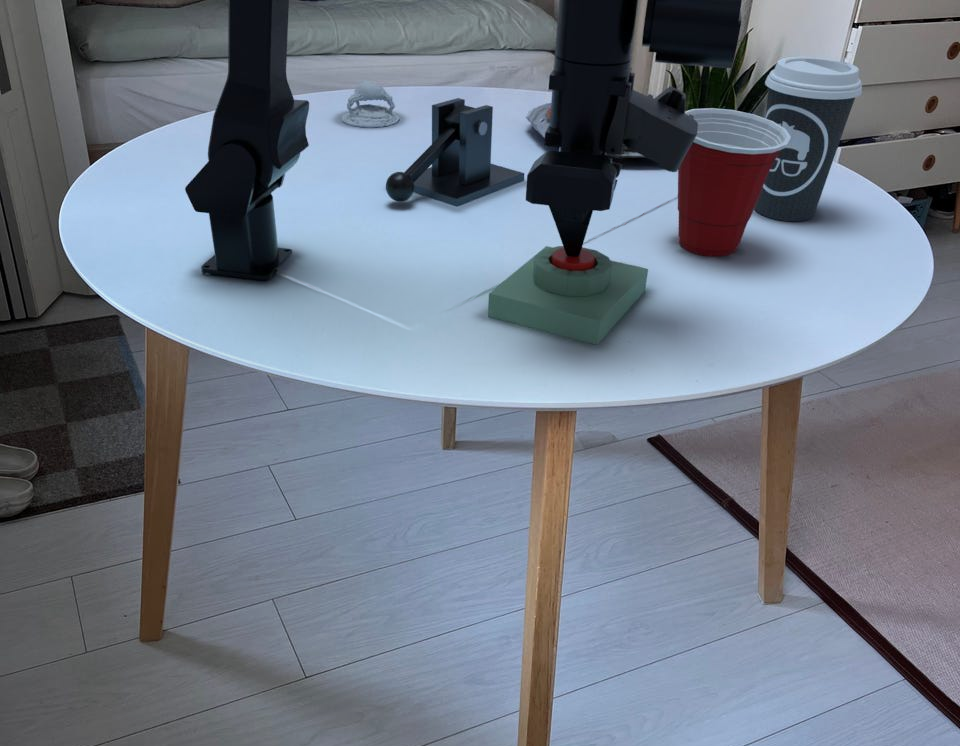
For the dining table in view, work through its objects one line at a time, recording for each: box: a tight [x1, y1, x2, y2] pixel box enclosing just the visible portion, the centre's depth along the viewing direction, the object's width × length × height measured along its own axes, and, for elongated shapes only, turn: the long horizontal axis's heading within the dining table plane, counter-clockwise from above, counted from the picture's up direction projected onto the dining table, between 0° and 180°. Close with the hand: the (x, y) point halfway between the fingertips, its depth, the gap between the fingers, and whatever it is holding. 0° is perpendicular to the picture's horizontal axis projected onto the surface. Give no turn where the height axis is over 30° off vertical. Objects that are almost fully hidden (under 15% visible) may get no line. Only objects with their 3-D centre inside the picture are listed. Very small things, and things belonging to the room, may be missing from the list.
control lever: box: [385, 104, 475, 203], centre depth 98 cm, size 14×3×3 cm, turn 141°
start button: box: [552, 248, 595, 271], centre depth 78 cm, size 4×4×2 cm
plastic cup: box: [677, 107, 791, 258], centre depth 88 cm, size 11×11×12 cm
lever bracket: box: [413, 97, 525, 207], centre depth 101 cm, size 12×9×9 cm
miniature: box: [341, 80, 400, 128], centre depth 124 cm, size 8×8×5 cm
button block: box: [487, 245, 649, 346], centre depth 79 cm, size 12×10×4 cm
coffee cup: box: [754, 56, 863, 222], centre depth 97 cm, size 10×10×15 cm
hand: (573, 254), depth 78 cm, fingers closed, pressing on start button
